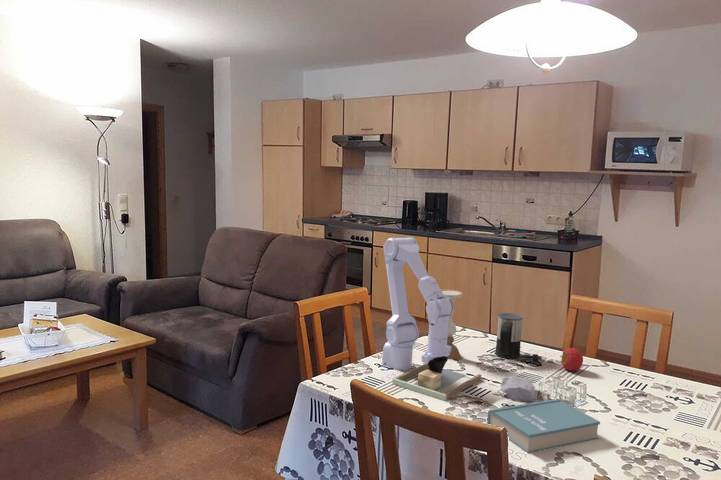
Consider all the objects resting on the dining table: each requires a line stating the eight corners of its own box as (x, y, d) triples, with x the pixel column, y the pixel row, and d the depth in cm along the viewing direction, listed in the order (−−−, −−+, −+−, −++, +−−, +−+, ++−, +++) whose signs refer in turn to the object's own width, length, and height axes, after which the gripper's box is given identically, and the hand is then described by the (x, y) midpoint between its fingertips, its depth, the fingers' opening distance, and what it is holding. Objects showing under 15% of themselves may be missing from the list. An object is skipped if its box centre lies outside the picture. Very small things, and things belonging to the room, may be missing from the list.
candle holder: (462, 363, 196) (466, 296, 193) (430, 362, 196) (434, 294, 193) (457, 353, 207) (461, 289, 204) (427, 352, 207) (431, 288, 204)
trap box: (392, 388, 171) (392, 378, 171) (430, 369, 189) (431, 360, 189) (444, 405, 160) (445, 395, 160) (480, 383, 178) (481, 374, 178)
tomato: (585, 346, 194) (563, 340, 194) (588, 365, 188) (565, 360, 188) (575, 358, 199) (554, 353, 199) (577, 377, 194) (555, 372, 194)
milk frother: (493, 349, 213) (496, 311, 211) (536, 353, 211) (540, 315, 209) (496, 362, 199) (499, 321, 197) (543, 366, 197) (546, 325, 195)
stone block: (503, 405, 167) (537, 402, 165) (500, 389, 167) (535, 386, 165) (500, 391, 179) (533, 388, 177) (498, 376, 178) (531, 373, 177)
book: (527, 455, 135) (529, 435, 134) (486, 426, 149) (488, 408, 149) (598, 440, 144) (600, 421, 143) (553, 414, 158) (555, 397, 158)
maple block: (417, 386, 169) (418, 373, 169) (426, 382, 173) (426, 369, 173) (431, 390, 166) (432, 377, 166) (440, 386, 170) (441, 373, 170)
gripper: (437, 344, 163) (434, 389, 165) (461, 334, 175) (458, 376, 176) (416, 339, 168) (414, 383, 169) (441, 330, 179) (438, 371, 181)
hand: (435, 379), depth 173 cm, fingers closed
